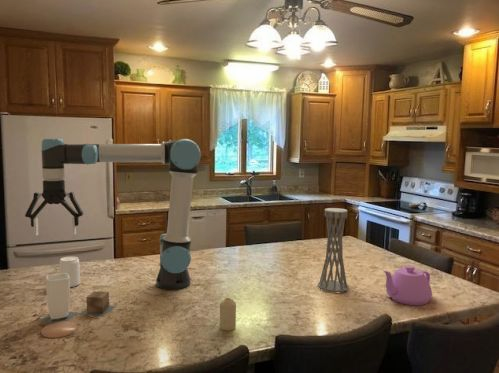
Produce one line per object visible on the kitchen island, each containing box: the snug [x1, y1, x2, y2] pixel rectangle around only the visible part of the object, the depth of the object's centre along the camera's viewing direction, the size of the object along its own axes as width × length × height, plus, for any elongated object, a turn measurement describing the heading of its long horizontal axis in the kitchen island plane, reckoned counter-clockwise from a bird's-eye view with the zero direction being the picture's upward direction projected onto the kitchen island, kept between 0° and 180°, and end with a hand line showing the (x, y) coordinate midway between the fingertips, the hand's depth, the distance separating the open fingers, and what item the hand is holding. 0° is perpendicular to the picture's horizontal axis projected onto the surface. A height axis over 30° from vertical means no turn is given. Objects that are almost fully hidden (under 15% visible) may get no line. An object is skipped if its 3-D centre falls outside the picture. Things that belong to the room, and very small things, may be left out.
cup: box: [45, 272, 71, 320], centre depth 148 cm, size 7×7×15 cm
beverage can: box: [58, 255, 81, 288], centre depth 181 cm, size 8×8×12 cm
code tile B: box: [78, 304, 117, 318], centre depth 155 cm, size 10×10×1 cm
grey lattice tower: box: [317, 207, 349, 293], centre depth 182 cm, size 14×13×35 cm
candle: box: [219, 297, 237, 331], centre depth 142 cm, size 6×6×10 cm
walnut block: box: [86, 290, 110, 313], centre depth 155 cm, size 6×6×6 cm
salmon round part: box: [40, 320, 78, 339], centre depth 138 cm, size 11×11×1 cm
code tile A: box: [37, 311, 80, 324], centre depth 148 cm, size 10×10×1 cm
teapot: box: [383, 265, 433, 306], centre depth 171 cm, size 25×18×14 cm
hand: (55, 234), depth 158 cm, fingers open, 13 cm apart
